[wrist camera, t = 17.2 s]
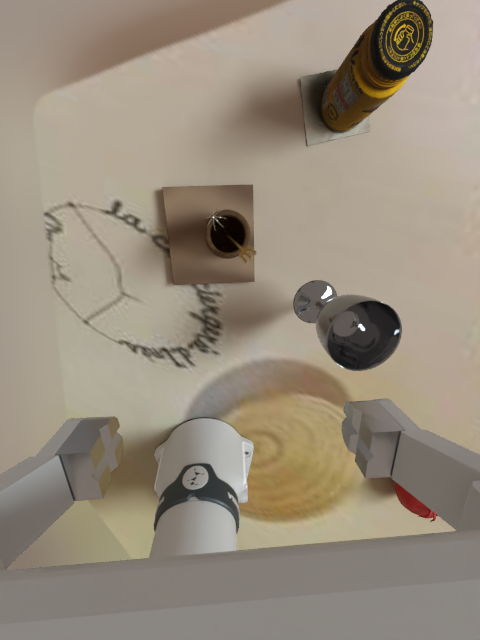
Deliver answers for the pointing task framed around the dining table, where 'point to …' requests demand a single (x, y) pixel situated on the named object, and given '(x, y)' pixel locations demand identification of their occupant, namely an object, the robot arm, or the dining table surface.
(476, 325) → the dining table surface
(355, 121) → the condiment
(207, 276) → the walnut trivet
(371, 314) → the wine glass
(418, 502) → the pomegranate
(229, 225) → the utensil holder
